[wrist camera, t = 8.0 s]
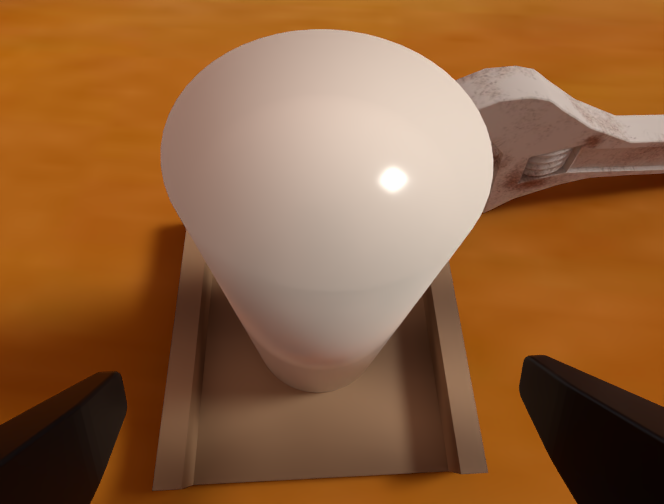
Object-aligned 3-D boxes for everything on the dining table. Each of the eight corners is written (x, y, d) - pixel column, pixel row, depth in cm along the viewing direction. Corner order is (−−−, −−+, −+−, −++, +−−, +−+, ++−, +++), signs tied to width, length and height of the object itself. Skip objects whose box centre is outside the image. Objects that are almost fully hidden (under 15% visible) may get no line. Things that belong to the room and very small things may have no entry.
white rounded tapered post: (340, 419, 16) (405, 368, 5) (230, 349, 17) (84, 178, 6) (400, 308, 19) (536, 102, 7) (299, 251, 20) (283, -5, 8)
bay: (467, 468, 16) (487, 472, 14) (171, 484, 16) (152, 491, 14) (425, 217, 21) (436, 196, 20) (201, 221, 21) (190, 199, 19)
